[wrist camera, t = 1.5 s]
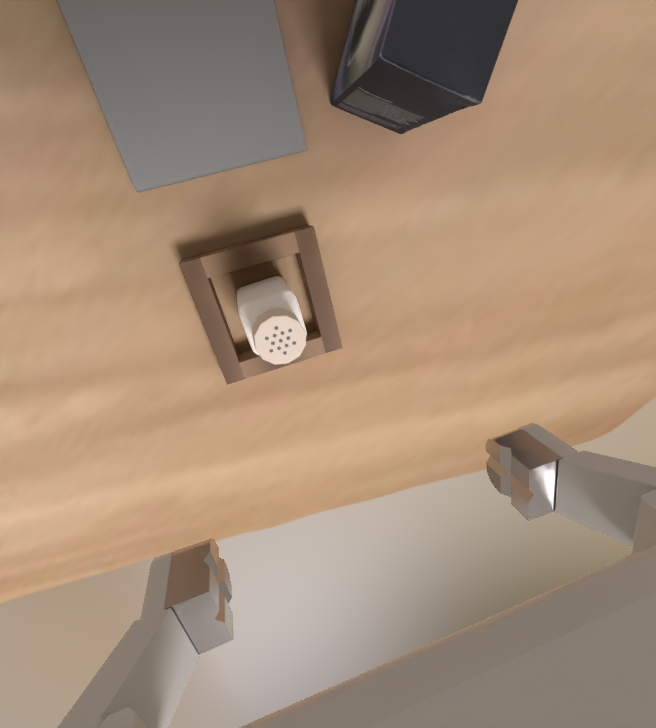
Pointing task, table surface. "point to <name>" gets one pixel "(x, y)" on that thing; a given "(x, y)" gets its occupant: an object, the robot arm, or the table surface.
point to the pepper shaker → (272, 320)
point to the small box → (419, 58)
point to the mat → (188, 84)
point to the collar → (248, 255)
